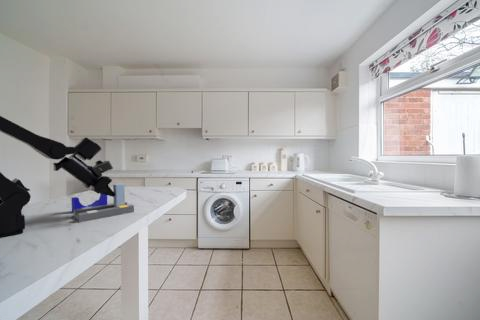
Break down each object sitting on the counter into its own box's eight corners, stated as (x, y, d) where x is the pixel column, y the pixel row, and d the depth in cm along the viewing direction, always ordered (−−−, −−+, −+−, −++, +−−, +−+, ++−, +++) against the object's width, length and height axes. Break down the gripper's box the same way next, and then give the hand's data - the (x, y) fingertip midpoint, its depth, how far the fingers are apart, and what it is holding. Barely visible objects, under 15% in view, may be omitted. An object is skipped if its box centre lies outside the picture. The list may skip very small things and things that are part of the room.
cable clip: (102, 205, 99) (102, 192, 98) (107, 207, 96) (107, 193, 96) (70, 211, 89) (70, 197, 89) (74, 213, 86) (74, 198, 86)
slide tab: (116, 209, 87) (116, 185, 86) (113, 208, 89) (113, 184, 89) (124, 208, 89) (124, 184, 88) (121, 206, 91) (121, 183, 91)
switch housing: (79, 222, 75) (79, 214, 75) (73, 216, 82) (73, 209, 82) (134, 211, 88) (133, 205, 88) (125, 207, 95) (125, 201, 95)
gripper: (104, 154, 76) (137, 182, 85) (91, 153, 89) (121, 178, 98) (77, 178, 71) (116, 206, 79) (67, 174, 84) (101, 198, 92)
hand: (114, 195), depth 87 cm, fingers closed, pressing on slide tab
